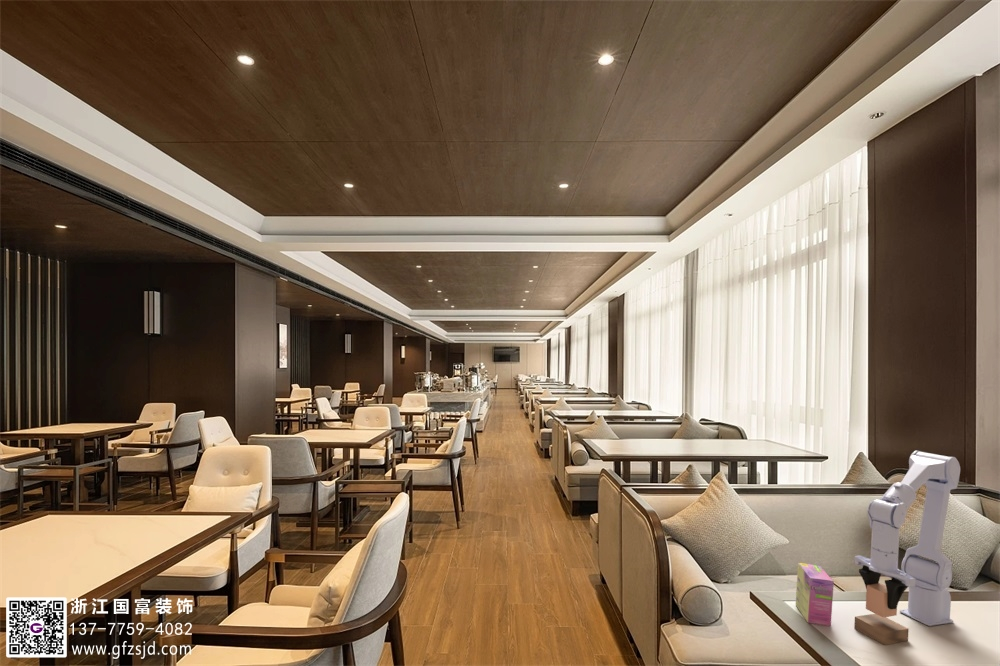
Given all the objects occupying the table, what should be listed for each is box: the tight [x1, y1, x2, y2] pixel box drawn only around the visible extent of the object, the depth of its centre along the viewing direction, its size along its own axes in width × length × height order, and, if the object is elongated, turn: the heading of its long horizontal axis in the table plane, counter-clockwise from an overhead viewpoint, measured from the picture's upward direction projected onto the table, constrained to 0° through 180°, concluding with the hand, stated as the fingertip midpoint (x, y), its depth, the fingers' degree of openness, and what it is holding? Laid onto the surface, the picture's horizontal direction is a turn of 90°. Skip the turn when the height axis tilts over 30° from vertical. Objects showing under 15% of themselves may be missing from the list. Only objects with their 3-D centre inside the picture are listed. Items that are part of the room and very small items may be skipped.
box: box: [795, 562, 835, 627], centre depth 152 cm, size 10×6×12 cm, turn 168°
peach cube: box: [865, 583, 898, 618], centre depth 143 cm, size 5×5×6 cm
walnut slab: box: [853, 613, 910, 646], centre depth 143 cm, size 8×8×3 cm
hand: (882, 603), depth 143 cm, fingers closed on peach cube, 5 cm apart
